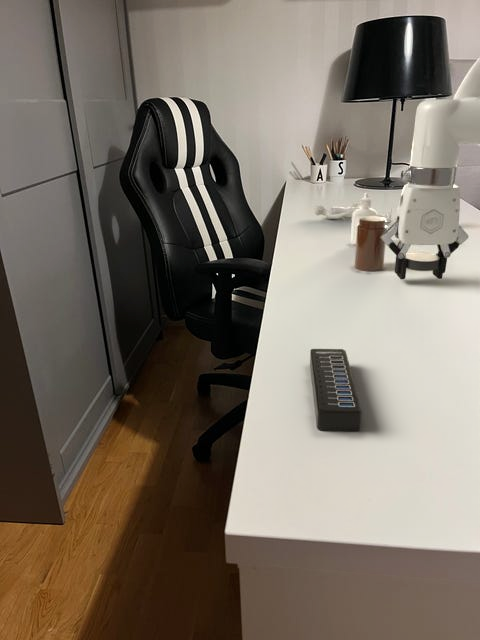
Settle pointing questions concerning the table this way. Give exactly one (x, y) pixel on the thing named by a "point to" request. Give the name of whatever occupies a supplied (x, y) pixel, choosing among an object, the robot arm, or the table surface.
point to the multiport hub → (334, 391)
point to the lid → (422, 261)
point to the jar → (370, 244)
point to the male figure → (344, 212)
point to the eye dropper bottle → (361, 215)
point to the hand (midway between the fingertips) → (419, 276)
